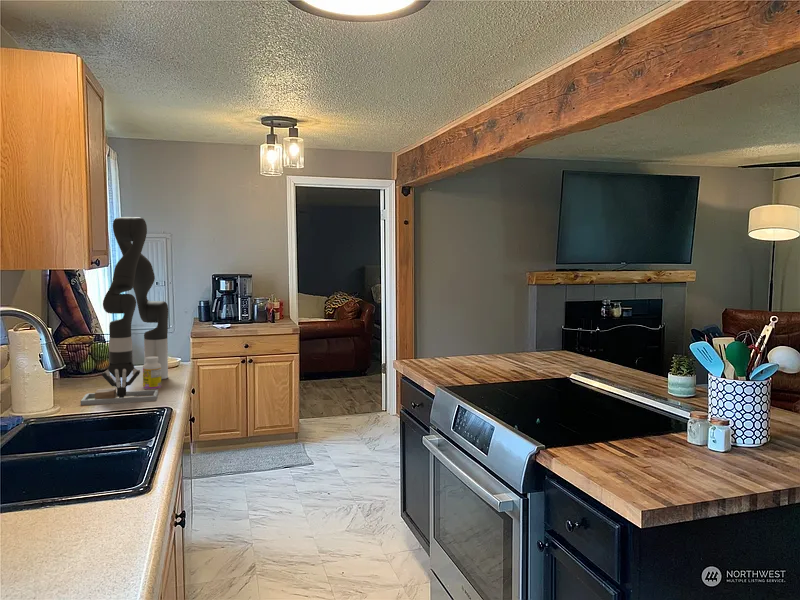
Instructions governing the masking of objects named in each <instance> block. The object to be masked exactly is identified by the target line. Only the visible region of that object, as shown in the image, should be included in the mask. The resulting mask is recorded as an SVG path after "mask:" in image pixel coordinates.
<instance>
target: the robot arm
mask: <svg viewBox="0 0 800 600" xmlns="http://www.w3.org/2000/svg"><path fill="white" fill-rule="evenodd" d="M112 222H113V223H112V230H113V234H114V235H113V236H114V238H115V240H116V243H117V245H118V247H119V249H120V252H121V254H122V257H121V258H119V260H118V261H117V263H116V264H115V266H114V269H113V276H112V283H111V285H110V286H109V288H108V290H107V292H106V293H105V295H104V298H103V300H102V307H103V310H104V311H105V313H106V314H123V317H122V318H120V319H116V320H112V321H110V322H109V324H108V327H109V341H108V358H109V359H108V361H109V364H108V367H107V369H106V370H105V371H103V372H102V373H101V377H103V379H105V381H107V383H109V385H110V386H111V387H114V388H116V392H117V396H119V398H124V396H125V395H126V391H127V387H128V386H131V385H132V383H133V382H134V381H135V380H136V378H138V376H139V375H140V373H141V370H140V369H137V368H136V367H135V365H134V363H133V340H132V321H133V317H134V314H135V310H136V307H137V308H138V315H139V317H140V320H141V321H142V322H144V323H146V324H147V323H151V324H155V323H156V324H157V325H156V327H155V328H153V329H150V330H147V331H145V332H144V333H143V343H144V345H143V347H144V349H143V350H144V353H143V354H144V359H145V358H146V357H151V356H156V357H158V363H160V364H161V380H167V379H168V378H169V358H168V356H169V354H168V352H169V351H168V350H169V349H168V343H169V342H168V333H169V331H168V328H169V327H168V325H169V307H168V306H169V305H168V303H167V302H166V301H162V300H149V299H148V294H149V291H150V290H151V288H152V287H153V285H154V282H155V280H156V278H155V277H156V276H155V272H154V268H153V265H152V263H151V262H150V260H149V259H148V258H147V257H146V256H145V255H144V254H142V251H143V248H144V245H145V241H146V239H147V233H148V226H147V222H146V220H145V219H144V217H140V216H120V217H116V218H115V219H113V221H112ZM132 289H133V292H134V294H131V293H125V292H129V291H131V290H132ZM144 364H146V361H145V360H144ZM131 373H132V376H131V378H130V379H129V380H127V379H128V377H129V376H130V374H131ZM111 375H112V376H113V378H115V380H114V379H113V378H112V377H111Z"/></svg>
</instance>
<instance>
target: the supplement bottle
mask: <svg viewBox="0 0 800 600" xmlns="http://www.w3.org/2000/svg"><path fill="white" fill-rule="evenodd" d="M145 361H146V364H145V363H144V364H143V365H142V388H143V389H144V390H145V389H146V390H157V389H160V388H161V387H162V379H161V364H160V363H158V357H156V356H151V357H146V358H145V357H144V362H145Z"/></svg>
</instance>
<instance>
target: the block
mask: <svg viewBox="0 0 800 600" xmlns="http://www.w3.org/2000/svg"><path fill="white" fill-rule="evenodd" d="M116 392H117V387H109V388H97V389H96V391H95V392H94V393H95V399H108V398H116Z"/></svg>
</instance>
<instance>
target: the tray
mask: <svg viewBox="0 0 800 600" xmlns="http://www.w3.org/2000/svg"><path fill="white" fill-rule="evenodd" d="M158 396H159V389H146V390H145V389H144V390H143V389H142V390H130V391H129V390H126V395H125V396H124V398H119V396H117V391H116V398H108V399H95V392H94V393H93V392H92V393H91V392H89V393H86V394H84V396H83V398H82V399H81V400H80V406H87V405H89V406H91V405H103V404H104V405H106V404H109V405H110V404H124V403H125V404H126V403H137V402H139V403H140V402H156V401H157V398H158Z"/></svg>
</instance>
